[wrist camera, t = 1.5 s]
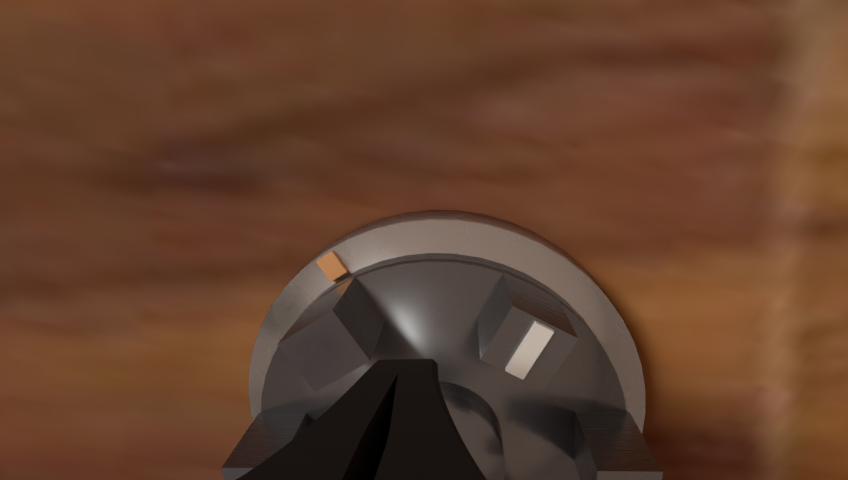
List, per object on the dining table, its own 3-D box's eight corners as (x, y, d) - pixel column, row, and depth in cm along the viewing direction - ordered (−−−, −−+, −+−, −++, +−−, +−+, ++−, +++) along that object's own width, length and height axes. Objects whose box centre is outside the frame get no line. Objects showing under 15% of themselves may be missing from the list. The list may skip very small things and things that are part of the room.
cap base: (511, 577, 24) (516, 621, 22) (220, 441, 24) (196, 473, 21) (707, 320, 20) (736, 345, 18) (352, 139, 19) (338, 142, 17)
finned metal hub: (507, 597, 22) (517, 712, 18) (227, 467, 21) (168, 555, 17) (692, 357, 18) (762, 432, 14) (354, 187, 17) (318, 211, 13)
